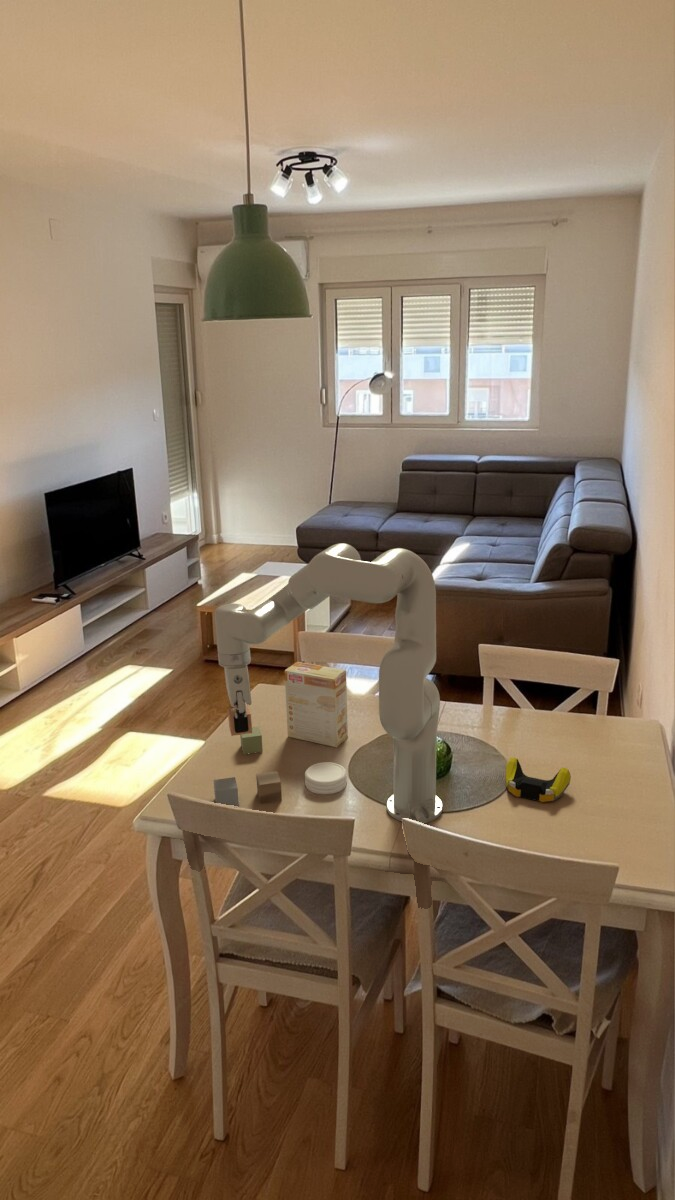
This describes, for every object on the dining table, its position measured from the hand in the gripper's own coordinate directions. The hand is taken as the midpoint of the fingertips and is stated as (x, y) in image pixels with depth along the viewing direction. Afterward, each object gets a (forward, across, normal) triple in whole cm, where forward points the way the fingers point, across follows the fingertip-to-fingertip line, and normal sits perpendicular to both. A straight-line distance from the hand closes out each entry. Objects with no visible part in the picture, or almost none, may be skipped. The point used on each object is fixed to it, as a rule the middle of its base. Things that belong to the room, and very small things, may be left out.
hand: (240, 725), depth 200 cm
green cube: (+13, +12, -3) cm, 19 cm away
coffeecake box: (+14, +14, -21) cm, 29 cm away
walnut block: (+14, -12, -4) cm, 18 cm away
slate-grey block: (+13, -12, +6) cm, 19 cm away
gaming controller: (+15, -26, -65) cm, 71 cm away
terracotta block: (+1, 0, 0) cm, 1 cm away
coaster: (+14, -10, -18) cm, 25 cm away
